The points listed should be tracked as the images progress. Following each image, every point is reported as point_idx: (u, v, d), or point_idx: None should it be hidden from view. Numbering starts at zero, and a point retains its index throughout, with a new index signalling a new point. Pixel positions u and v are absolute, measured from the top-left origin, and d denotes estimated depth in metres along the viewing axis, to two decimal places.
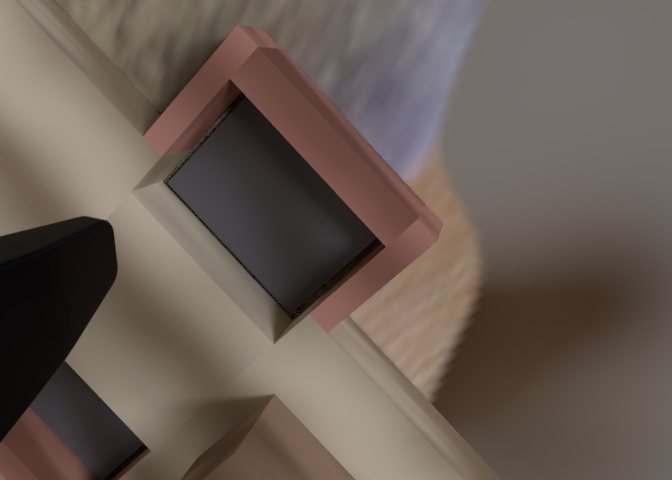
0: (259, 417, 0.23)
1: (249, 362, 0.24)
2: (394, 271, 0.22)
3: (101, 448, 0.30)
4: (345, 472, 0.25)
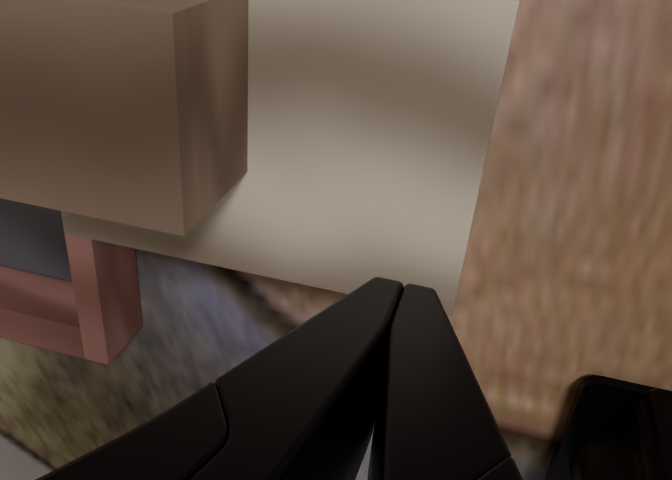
0: None
1: None
2: None
3: None
4: None
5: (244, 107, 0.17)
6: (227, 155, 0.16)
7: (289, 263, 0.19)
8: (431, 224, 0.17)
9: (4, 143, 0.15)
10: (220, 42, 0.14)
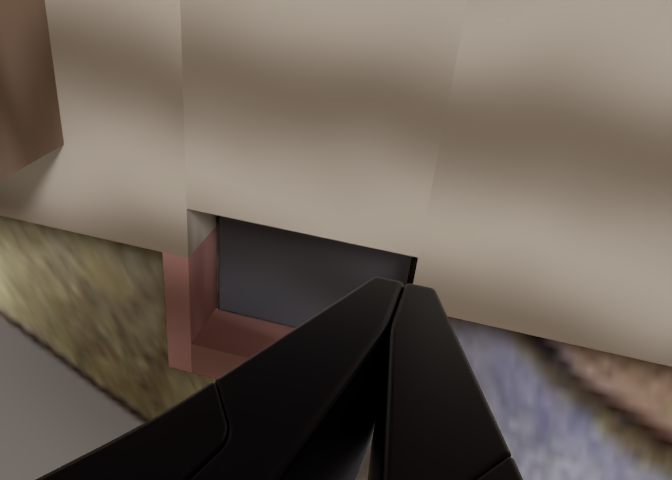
0: None
1: (455, 46, 0.17)
2: None
3: None
4: None
5: (52, 89, 0.20)
6: (33, 129, 0.20)
7: (662, 346, 0.19)
8: None
9: None
10: (8, 34, 0.18)
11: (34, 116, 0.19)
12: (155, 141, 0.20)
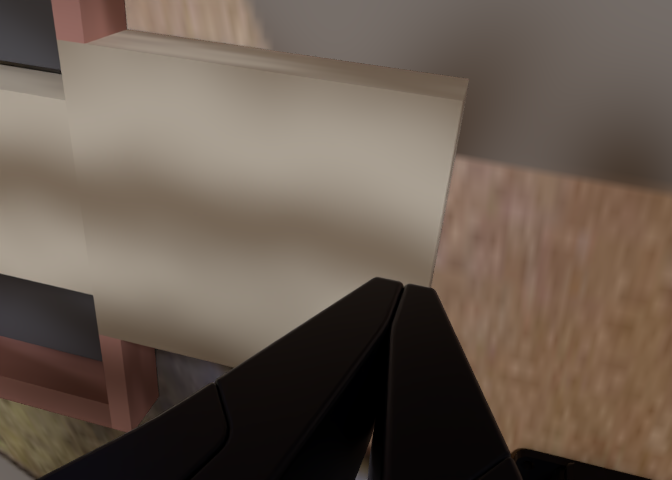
0: None
1: (68, 137, 0.22)
2: None
3: None
4: None
5: None
6: None
7: None
8: None
9: None
10: None
11: None
12: None
